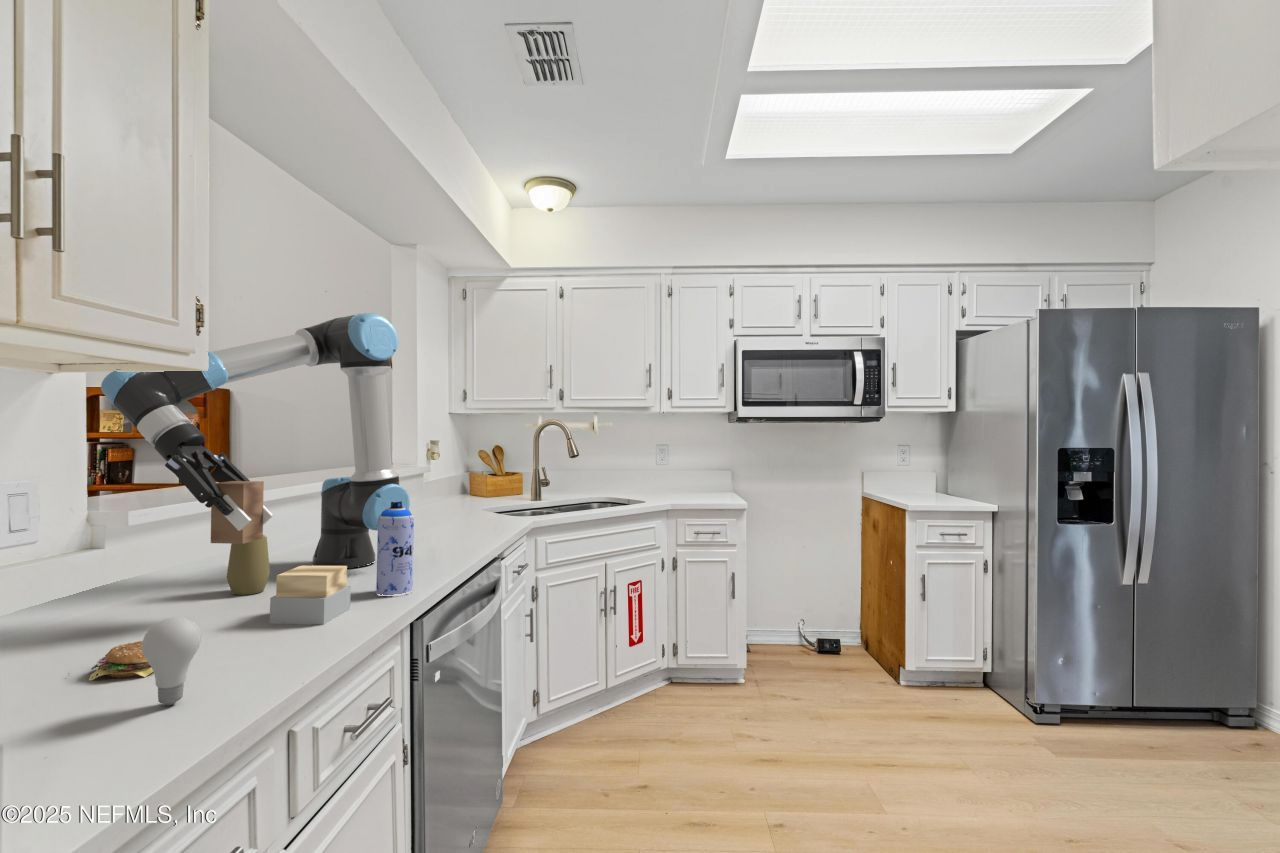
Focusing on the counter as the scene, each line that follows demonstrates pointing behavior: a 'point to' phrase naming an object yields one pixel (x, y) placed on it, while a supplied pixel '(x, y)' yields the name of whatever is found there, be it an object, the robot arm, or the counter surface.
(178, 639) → the lightbulb
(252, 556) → the squeeze bottle
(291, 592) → the beech slab
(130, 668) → the hamburger
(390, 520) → the aerosol can
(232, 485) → the walnut block
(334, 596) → the grey slab
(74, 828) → the counter surface
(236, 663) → the counter surface
